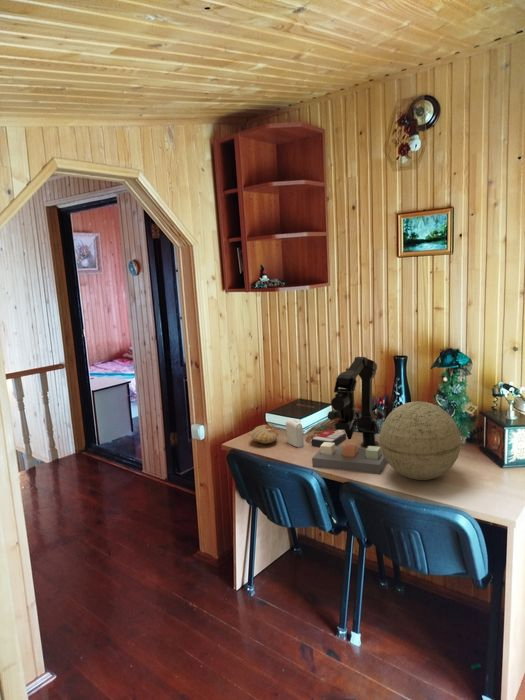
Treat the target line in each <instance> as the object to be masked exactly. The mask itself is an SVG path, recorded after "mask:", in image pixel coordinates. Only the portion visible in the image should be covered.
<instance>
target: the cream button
mask: <svg viewBox="0 0 525 700" xmlns="http://www.w3.org/2000/svg"><path fill="white" fill-rule="evenodd" d="M319 448H320V449H321V454H325V455H333V454H334V453H335V443H330V442H324V443H323V444H322V445H321V446H320V447H319ZM320 449H319V450H320Z"/></svg>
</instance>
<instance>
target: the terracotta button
mask: <svg viewBox="0 0 525 700" xmlns="http://www.w3.org/2000/svg"><path fill="white" fill-rule="evenodd" d="M343 446H344V447H343V456H345V457H356V456H357V454H358V449H357V448H358V444H354V443H353V444H351V443H345V444H344V445H343Z"/></svg>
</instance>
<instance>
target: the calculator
mask: <svg viewBox="0 0 525 700" xmlns="http://www.w3.org/2000/svg"><path fill="white" fill-rule="evenodd" d="M345 440H347V435H346V432H342V431H341V432H340V431H334V430H327V429H326V430H325V431H323V432H321V433H319V434H317V435H315V436H314V437H313V438H312V439H311V447H313V448H315V447H316V448H320V446H321V445H322V444H323V443H324V442H330V443H335V446H339V445H340V444H341V443H342V442H345Z"/></svg>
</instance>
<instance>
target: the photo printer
mask: <svg viewBox="0 0 525 700" xmlns="http://www.w3.org/2000/svg"><path fill="white" fill-rule="evenodd" d="M285 429H286V432H285V433H286V441H287V444H289V445H291V446H294V447H296V448H302V447H303V446H304V445H305V444H304V443H305V442H304V434H303V433H304V432H303V425H302V424H301V422H300V421H298V420H296V419H293V418H290V419H287V420H286V421H285Z"/></svg>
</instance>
